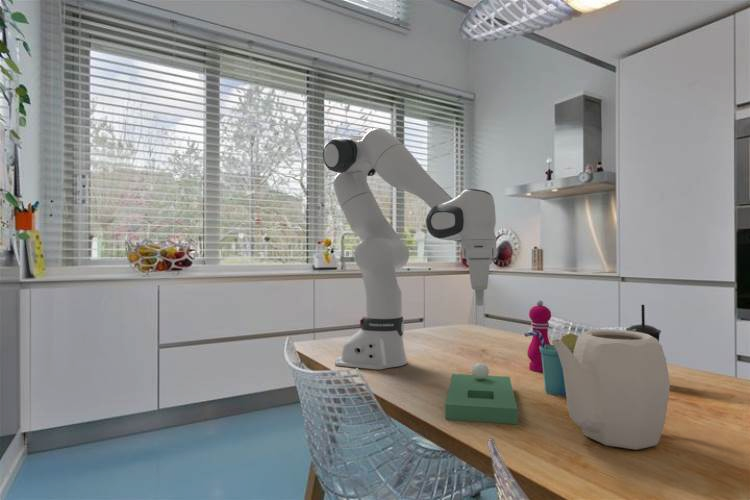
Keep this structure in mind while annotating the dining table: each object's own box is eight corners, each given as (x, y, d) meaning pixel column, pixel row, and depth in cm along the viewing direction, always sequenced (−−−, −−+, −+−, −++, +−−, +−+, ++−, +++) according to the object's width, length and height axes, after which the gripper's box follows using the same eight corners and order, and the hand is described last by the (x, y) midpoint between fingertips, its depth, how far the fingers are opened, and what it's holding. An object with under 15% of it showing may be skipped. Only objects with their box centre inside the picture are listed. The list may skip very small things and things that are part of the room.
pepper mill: (550, 366, 133) (549, 298, 133) (557, 373, 126) (556, 301, 126) (525, 366, 134) (524, 298, 134) (530, 372, 127) (529, 301, 127)
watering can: (523, 434, 84) (522, 332, 84) (629, 415, 93) (628, 323, 93) (590, 471, 69) (588, 348, 69) (708, 444, 78) (706, 335, 78)
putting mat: (445, 419, 92) (445, 404, 92) (452, 385, 115) (452, 373, 115) (517, 424, 88) (517, 408, 88) (509, 388, 112) (509, 376, 112)
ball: (471, 381, 108) (471, 364, 108) (472, 376, 112) (471, 360, 112) (489, 382, 107) (488, 365, 107) (488, 377, 111) (488, 361, 111)
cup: (534, 399, 104) (533, 333, 104) (518, 389, 111) (517, 328, 111) (589, 395, 106) (588, 331, 106) (570, 386, 113) (569, 326, 114)
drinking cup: (664, 382, 116) (663, 304, 116) (658, 388, 110) (656, 307, 111) (631, 377, 121) (630, 302, 122) (623, 383, 116) (622, 305, 116)
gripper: (467, 251, 127) (468, 300, 127) (465, 251, 108) (466, 309, 107) (490, 251, 126) (491, 301, 126) (492, 250, 106) (493, 309, 106)
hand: (479, 305), depth 116 cm, fingers closed
